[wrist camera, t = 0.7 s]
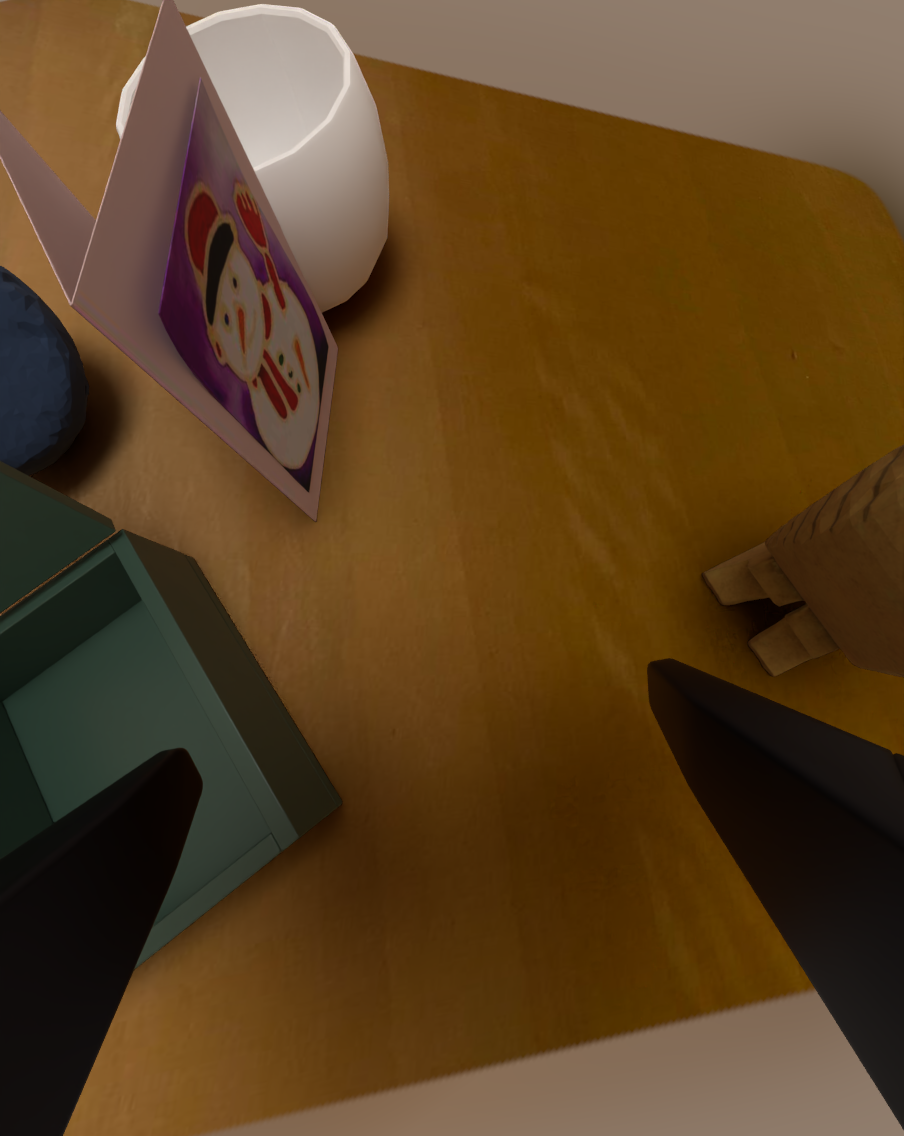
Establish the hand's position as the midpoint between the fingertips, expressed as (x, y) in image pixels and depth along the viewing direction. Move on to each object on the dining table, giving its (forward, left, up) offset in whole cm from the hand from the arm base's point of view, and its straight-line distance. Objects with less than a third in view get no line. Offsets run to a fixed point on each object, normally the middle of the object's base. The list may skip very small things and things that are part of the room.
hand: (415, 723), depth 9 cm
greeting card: (+18, -3, -14) cm, 23 cm away
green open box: (+9, +13, -14) cm, 21 cm away
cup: (+25, -12, -14) cm, 32 cm away
